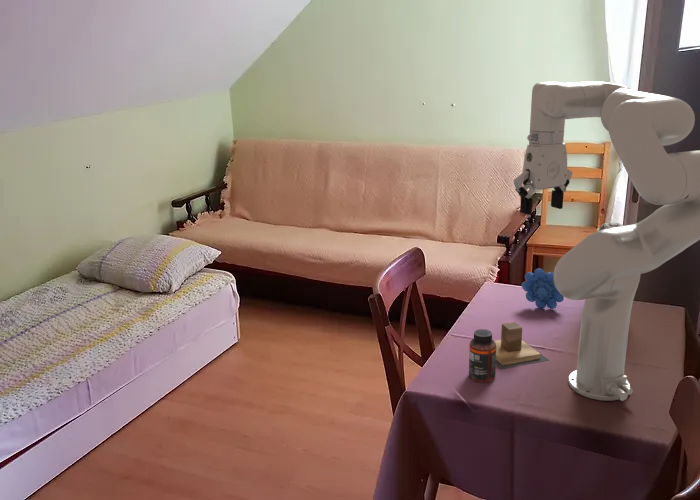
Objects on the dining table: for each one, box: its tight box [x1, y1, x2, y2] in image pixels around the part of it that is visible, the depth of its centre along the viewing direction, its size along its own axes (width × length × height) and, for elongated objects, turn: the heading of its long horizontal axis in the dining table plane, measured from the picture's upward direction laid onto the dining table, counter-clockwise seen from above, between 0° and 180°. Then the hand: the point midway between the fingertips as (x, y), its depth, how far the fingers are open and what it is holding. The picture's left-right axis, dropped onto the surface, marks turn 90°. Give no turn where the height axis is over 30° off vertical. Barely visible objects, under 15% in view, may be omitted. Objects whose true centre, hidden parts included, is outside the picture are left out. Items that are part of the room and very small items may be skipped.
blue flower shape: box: [521, 267, 565, 310], centre depth 177 cm, size 12×7×12 cm, turn 70°
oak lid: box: [494, 321, 541, 365], centre depth 153 cm, size 10×10×7 cm
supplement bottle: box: [468, 328, 497, 384], centre depth 142 cm, size 6×6×11 cm
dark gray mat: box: [496, 339, 550, 370], centre depth 154 cm, size 13×13×1 cm
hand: (541, 210), depth 149 cm, fingers open, 9 cm apart
